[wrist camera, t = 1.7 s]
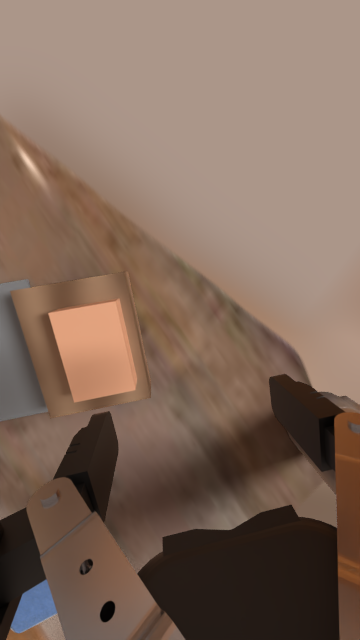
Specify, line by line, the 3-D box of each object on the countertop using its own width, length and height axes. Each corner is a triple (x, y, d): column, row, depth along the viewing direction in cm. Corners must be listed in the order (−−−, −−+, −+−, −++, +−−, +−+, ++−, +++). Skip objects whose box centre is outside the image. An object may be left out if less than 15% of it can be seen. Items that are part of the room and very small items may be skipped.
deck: (128, 271, 28) (123, 271, 24) (151, 381, 31) (150, 397, 27) (30, 288, 27) (9, 291, 23) (64, 399, 30) (50, 418, 26)
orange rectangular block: (119, 298, 24) (115, 301, 22) (137, 379, 26) (135, 390, 24) (59, 308, 24) (48, 313, 21) (81, 390, 26) (74, 402, 23)
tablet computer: (20, 625, 37) (15, 638, 36) (-33, 575, 34) (-40, 587, 33) (131, 567, 37) (130, 577, 36) (87, 511, 34) (84, 521, 33)
